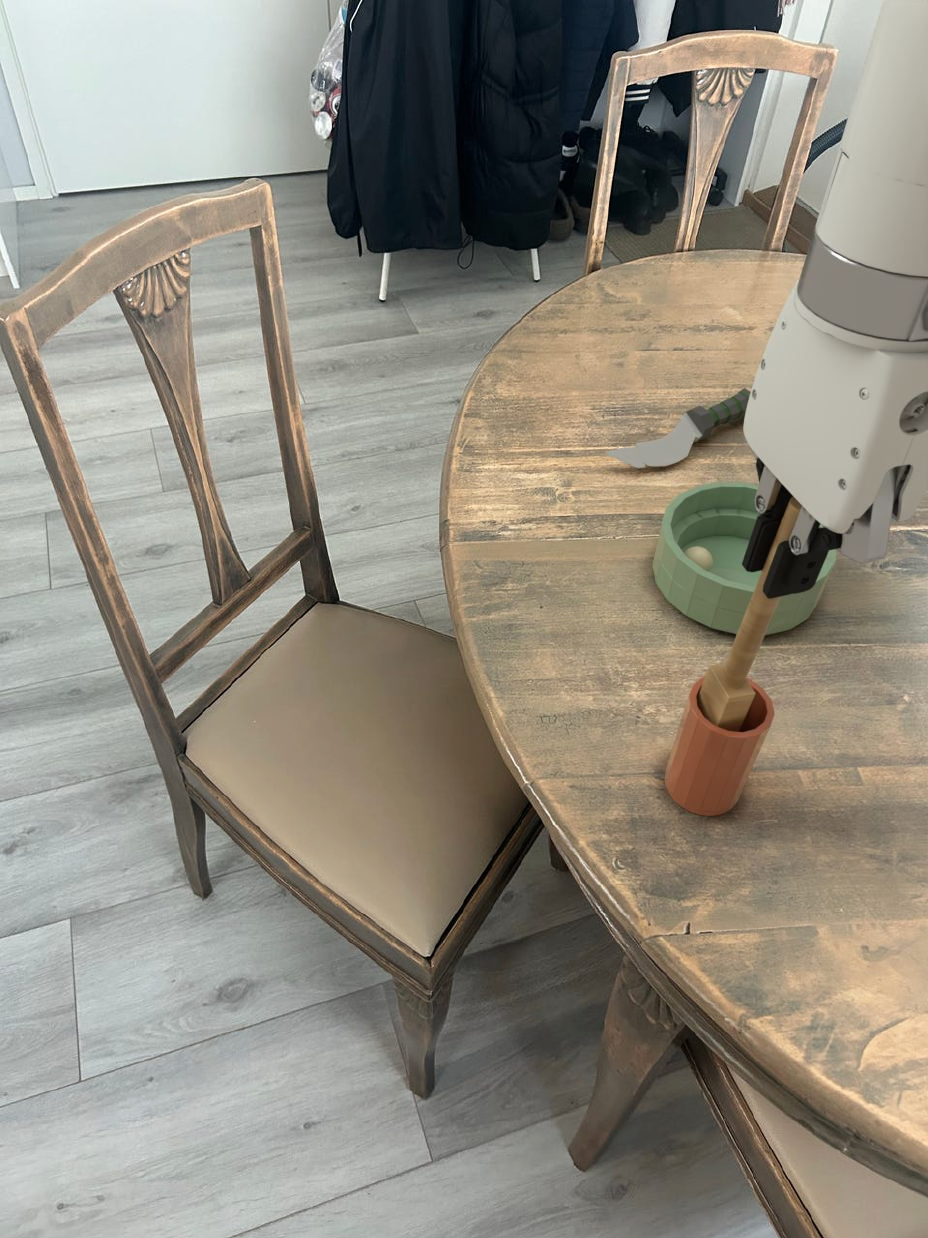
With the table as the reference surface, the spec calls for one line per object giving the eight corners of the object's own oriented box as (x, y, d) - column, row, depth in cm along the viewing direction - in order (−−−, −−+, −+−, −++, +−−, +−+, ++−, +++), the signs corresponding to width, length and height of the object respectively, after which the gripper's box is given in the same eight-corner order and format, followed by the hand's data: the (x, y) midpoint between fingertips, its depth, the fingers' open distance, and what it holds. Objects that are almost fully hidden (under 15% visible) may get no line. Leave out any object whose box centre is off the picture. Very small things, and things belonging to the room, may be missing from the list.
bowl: (849, 619, 81) (872, 572, 77) (699, 655, 78) (713, 607, 74) (762, 517, 92) (777, 470, 87) (625, 544, 88) (635, 497, 84)
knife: (635, 475, 92) (609, 437, 93) (618, 495, 96) (594, 458, 97) (778, 409, 101) (754, 375, 102) (758, 430, 105) (734, 397, 106)
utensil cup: (753, 805, 67) (790, 726, 60) (685, 824, 66) (714, 746, 59) (717, 746, 71) (747, 665, 64) (652, 763, 70) (675, 682, 63)
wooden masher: (735, 738, 62) (834, 518, 48) (710, 743, 62) (802, 522, 47) (717, 706, 64) (806, 485, 50) (692, 710, 64) (775, 489, 49)
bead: (703, 580, 85) (674, 577, 85) (705, 549, 85) (676, 546, 85) (716, 578, 82) (686, 575, 82) (719, 546, 82) (689, 543, 82)
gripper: (1087, 356, 35) (910, 659, 48) (856, 207, 46) (763, 490, 59) (930, 383, 34) (792, 688, 47) (727, 222, 44) (661, 509, 57)
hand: (776, 576), depth 53 cm, fingers closed on wooden masher, 1 cm apart
